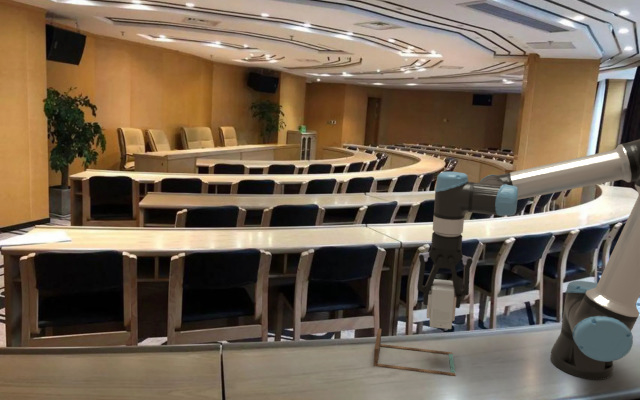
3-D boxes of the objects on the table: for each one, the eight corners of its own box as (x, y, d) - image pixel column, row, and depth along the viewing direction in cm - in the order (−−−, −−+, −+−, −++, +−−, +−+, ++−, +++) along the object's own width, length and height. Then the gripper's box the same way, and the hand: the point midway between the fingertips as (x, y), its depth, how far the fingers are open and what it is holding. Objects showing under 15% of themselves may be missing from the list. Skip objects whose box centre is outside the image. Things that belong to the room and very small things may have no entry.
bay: (452, 353, 141) (453, 336, 140) (455, 376, 129) (457, 358, 128) (376, 344, 144) (377, 328, 143) (373, 366, 133) (374, 348, 132)
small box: (451, 330, 129) (454, 291, 127) (429, 327, 130) (432, 289, 128) (450, 317, 137) (453, 280, 134) (429, 314, 138) (431, 278, 136)
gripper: (483, 231, 130) (475, 315, 135) (410, 226, 134) (404, 308, 138) (487, 239, 123) (478, 327, 128) (410, 233, 126) (404, 319, 131)
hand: (440, 317), depth 133 cm, fingers closed on small box, 6 cm apart
